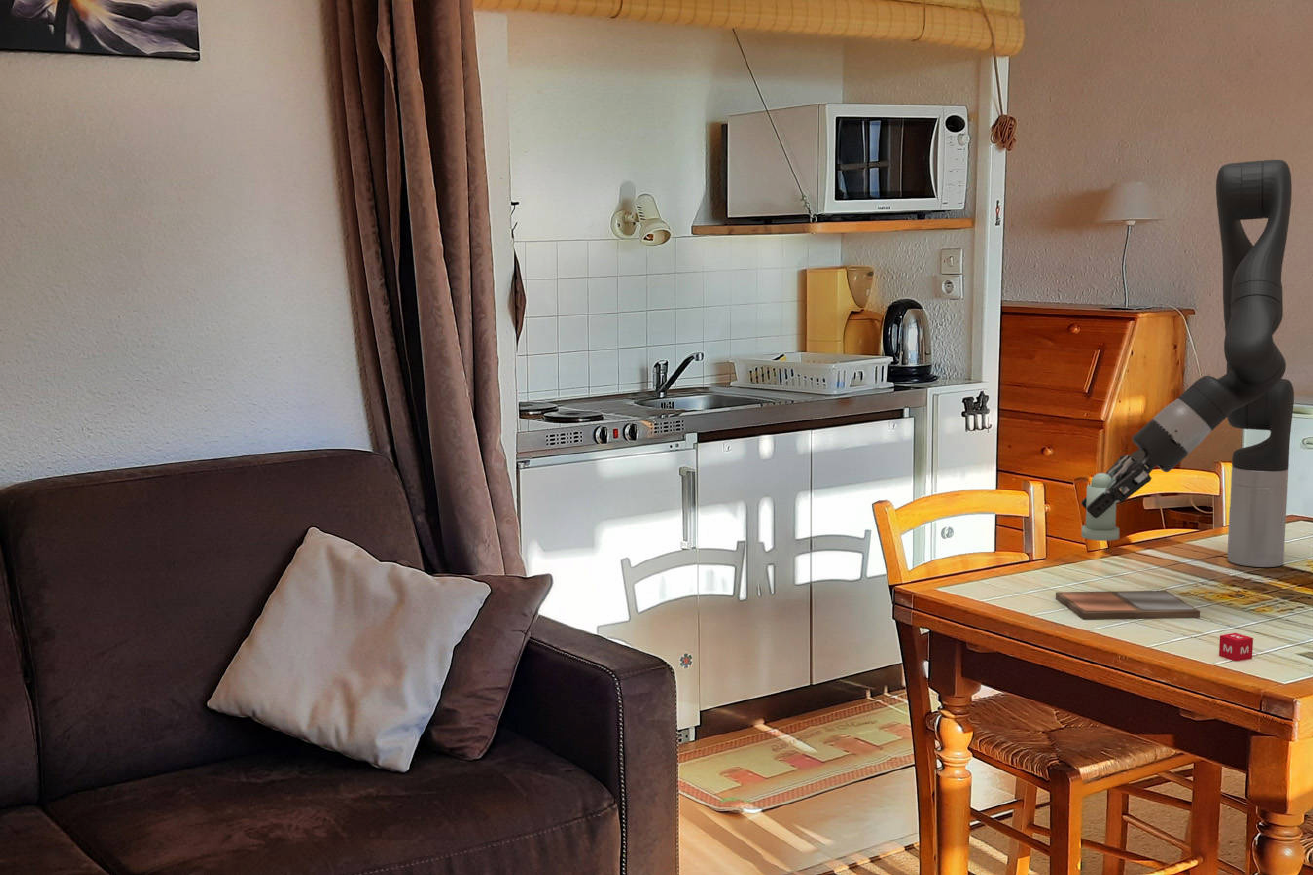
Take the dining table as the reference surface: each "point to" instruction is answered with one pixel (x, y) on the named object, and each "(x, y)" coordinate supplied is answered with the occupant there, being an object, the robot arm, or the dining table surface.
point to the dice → (1235, 647)
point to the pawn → (1105, 523)
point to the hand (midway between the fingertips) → (1088, 510)
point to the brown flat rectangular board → (1126, 605)
